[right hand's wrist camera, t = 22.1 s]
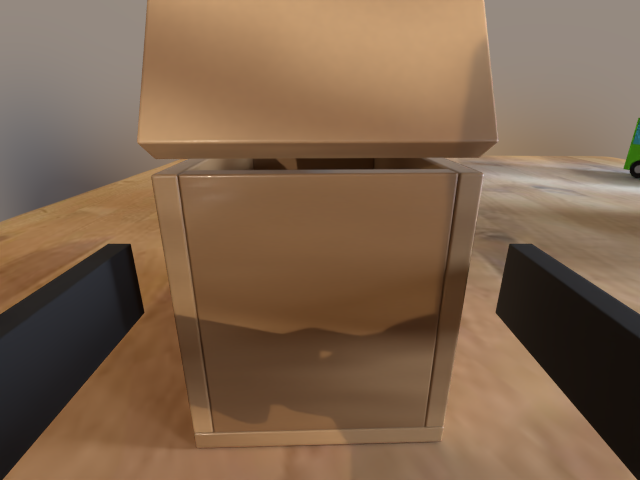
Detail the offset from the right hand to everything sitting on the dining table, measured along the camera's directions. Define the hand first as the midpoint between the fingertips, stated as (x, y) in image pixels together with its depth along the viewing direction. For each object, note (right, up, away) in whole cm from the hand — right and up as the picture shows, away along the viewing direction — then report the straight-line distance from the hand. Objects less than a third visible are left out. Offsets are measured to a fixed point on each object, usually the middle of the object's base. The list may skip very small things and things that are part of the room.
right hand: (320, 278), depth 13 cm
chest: (0, -4, +8) cm, 9 cm away
